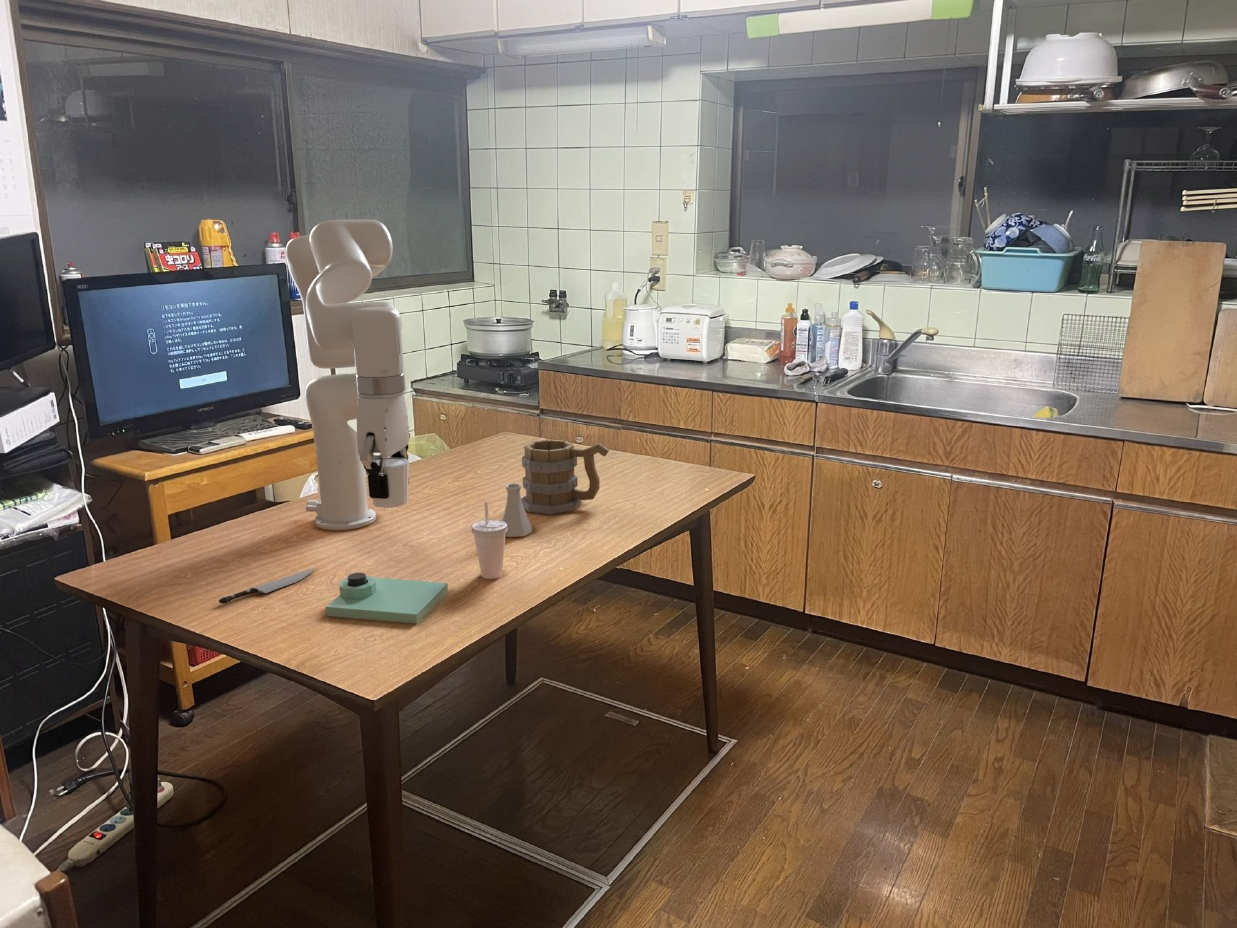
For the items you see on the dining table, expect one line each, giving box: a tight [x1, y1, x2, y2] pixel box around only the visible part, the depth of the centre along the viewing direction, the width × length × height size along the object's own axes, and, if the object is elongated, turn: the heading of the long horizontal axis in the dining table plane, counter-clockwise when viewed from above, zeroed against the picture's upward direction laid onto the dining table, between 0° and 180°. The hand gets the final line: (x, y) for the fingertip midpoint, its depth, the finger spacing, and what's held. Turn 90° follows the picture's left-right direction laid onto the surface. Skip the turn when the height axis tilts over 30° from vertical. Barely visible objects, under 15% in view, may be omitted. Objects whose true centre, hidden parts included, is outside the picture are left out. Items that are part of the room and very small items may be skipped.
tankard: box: [521, 439, 610, 516], centre depth 202 cm, size 20×13×15 cm, turn 71°
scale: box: [325, 575, 449, 625], centre depth 154 cm, size 16×13×4 cm
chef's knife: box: [218, 568, 314, 604], centre depth 161 cm, size 19×1×3 cm
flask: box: [500, 483, 533, 538], centre depth 187 cm, size 7×7×10 cm
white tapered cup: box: [371, 457, 410, 509], centre depth 151 cm, size 7×7×7 cm
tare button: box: [347, 572, 367, 587], centre depth 154 cm, size 3×3×2 cm
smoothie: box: [471, 500, 508, 580], centre depth 164 cm, size 6×6×14 cm
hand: (389, 490), depth 151 cm, fingers closed on white tapered cup, 6 cm apart
